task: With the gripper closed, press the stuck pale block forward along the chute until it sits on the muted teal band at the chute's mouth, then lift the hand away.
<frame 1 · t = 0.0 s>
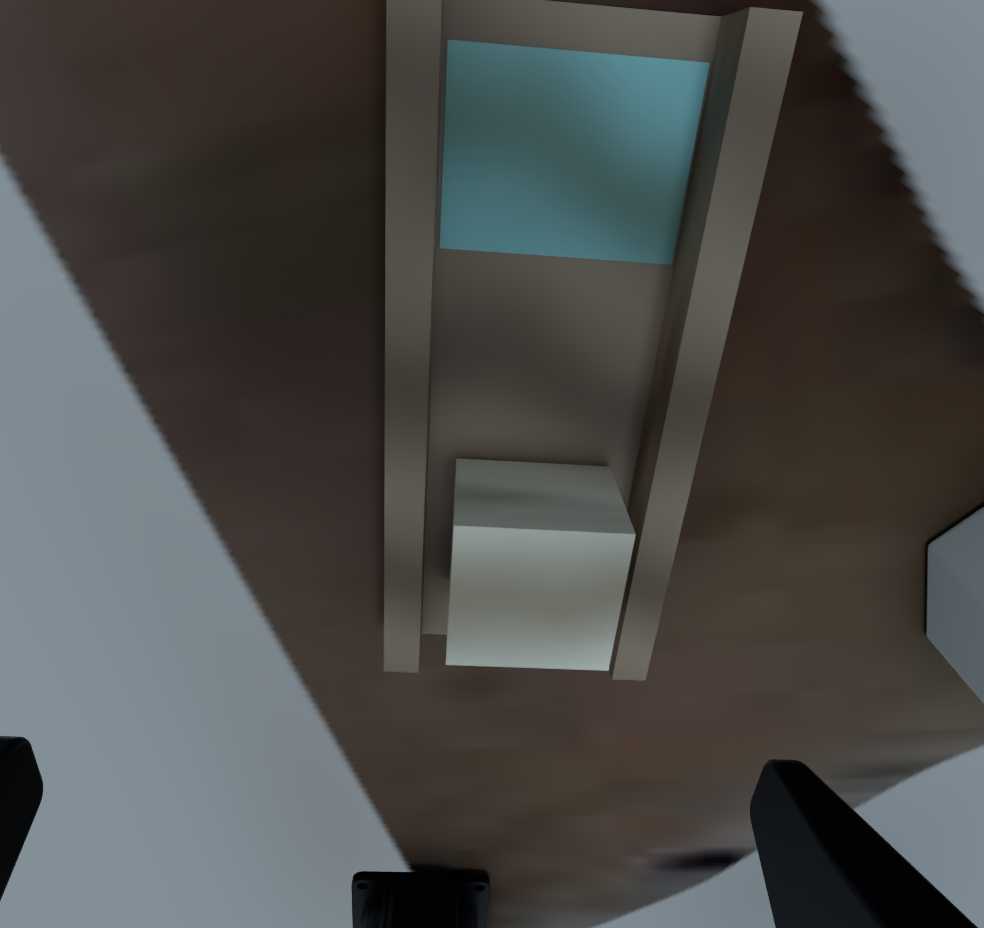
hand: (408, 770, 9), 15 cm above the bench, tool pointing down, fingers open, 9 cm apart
chute: (540, 383, 22), on the bench
block: (530, 562, 22), point 3 cm above the bench, slide at 0.0 cm
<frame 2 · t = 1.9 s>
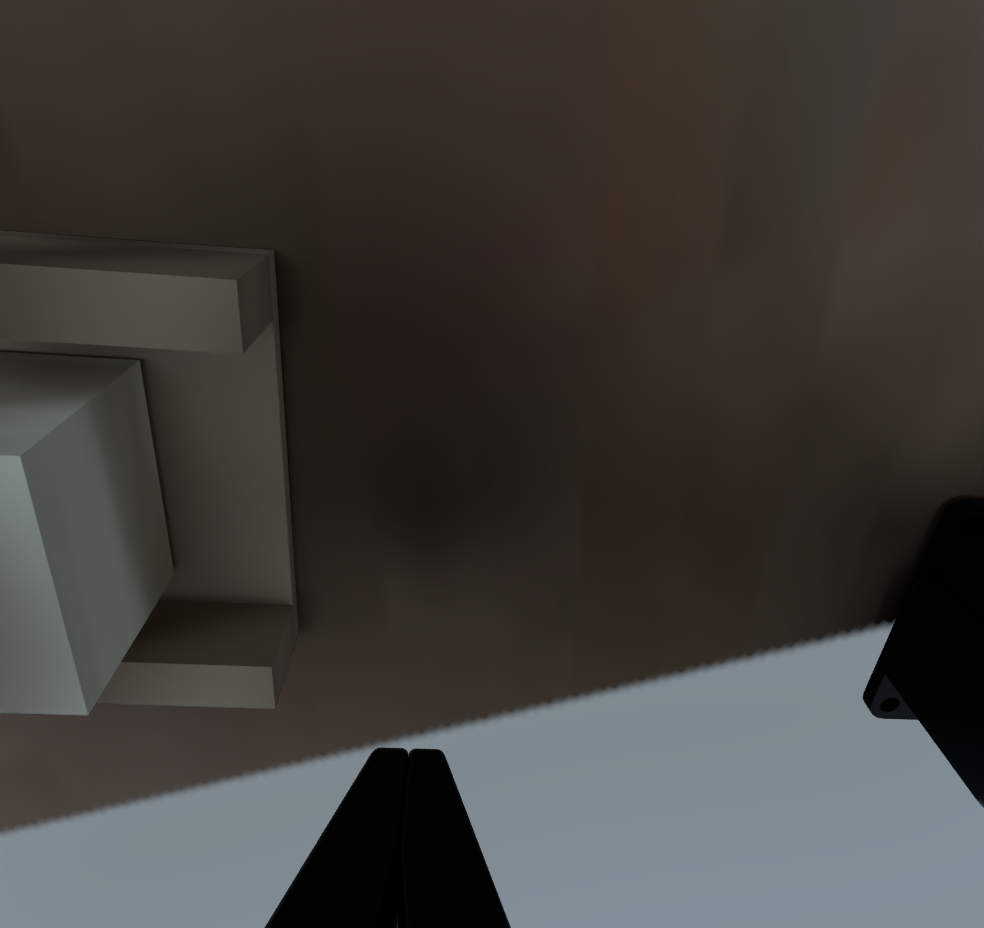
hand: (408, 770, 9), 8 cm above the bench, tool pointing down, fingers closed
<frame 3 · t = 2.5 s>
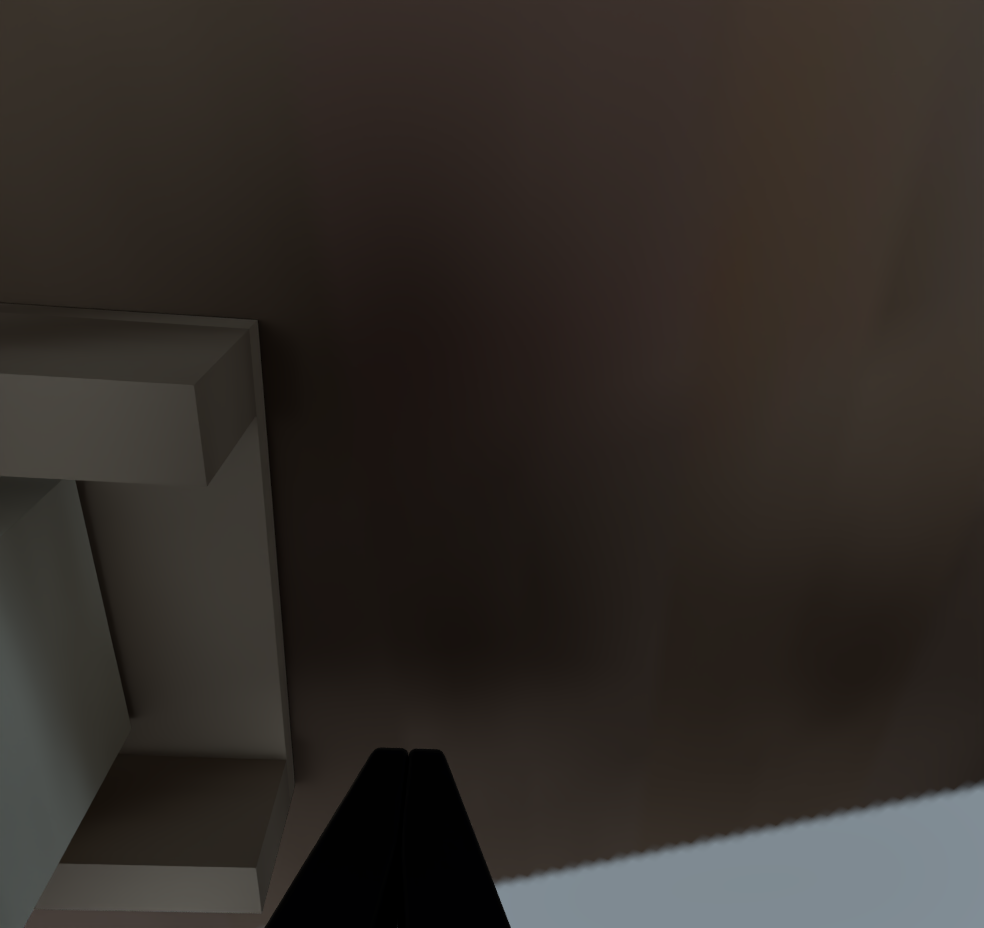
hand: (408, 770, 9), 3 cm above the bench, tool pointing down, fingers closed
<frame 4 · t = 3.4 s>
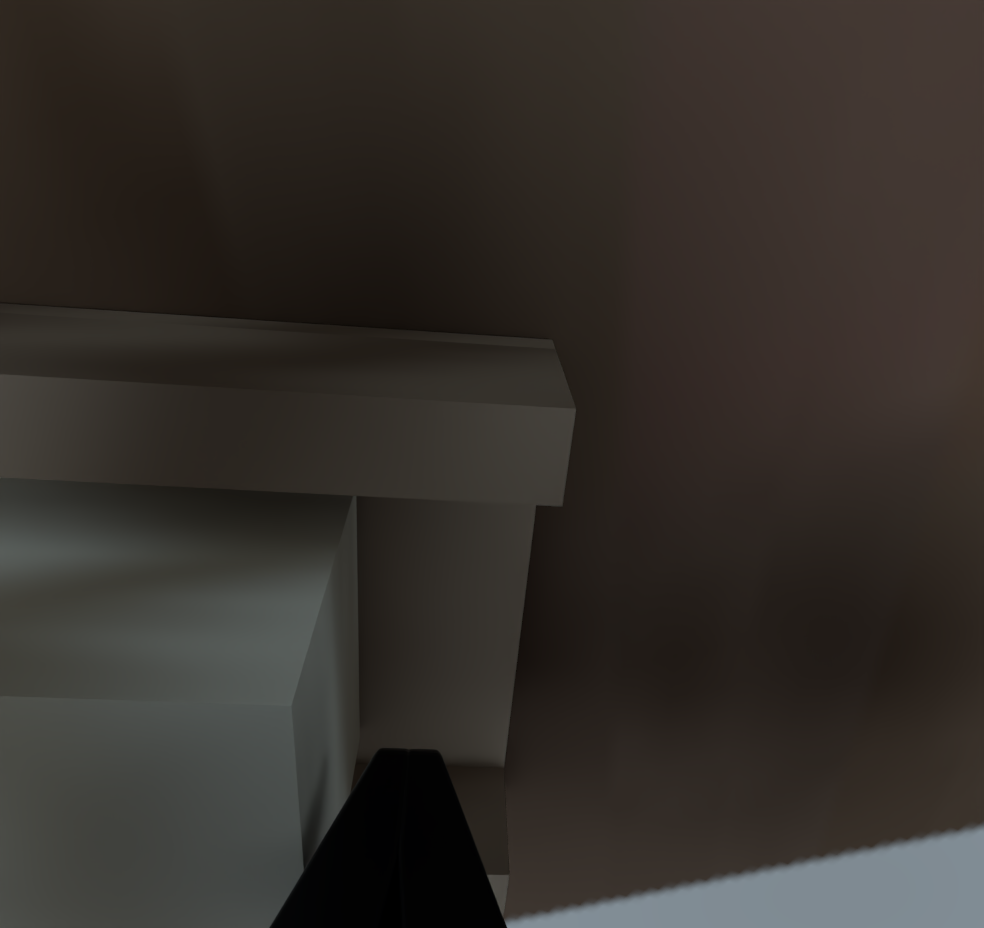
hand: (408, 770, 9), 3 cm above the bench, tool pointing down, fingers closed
block: (140, 720, 9), point 3 cm above the bench, slide at 0.1 cm, touching gripper
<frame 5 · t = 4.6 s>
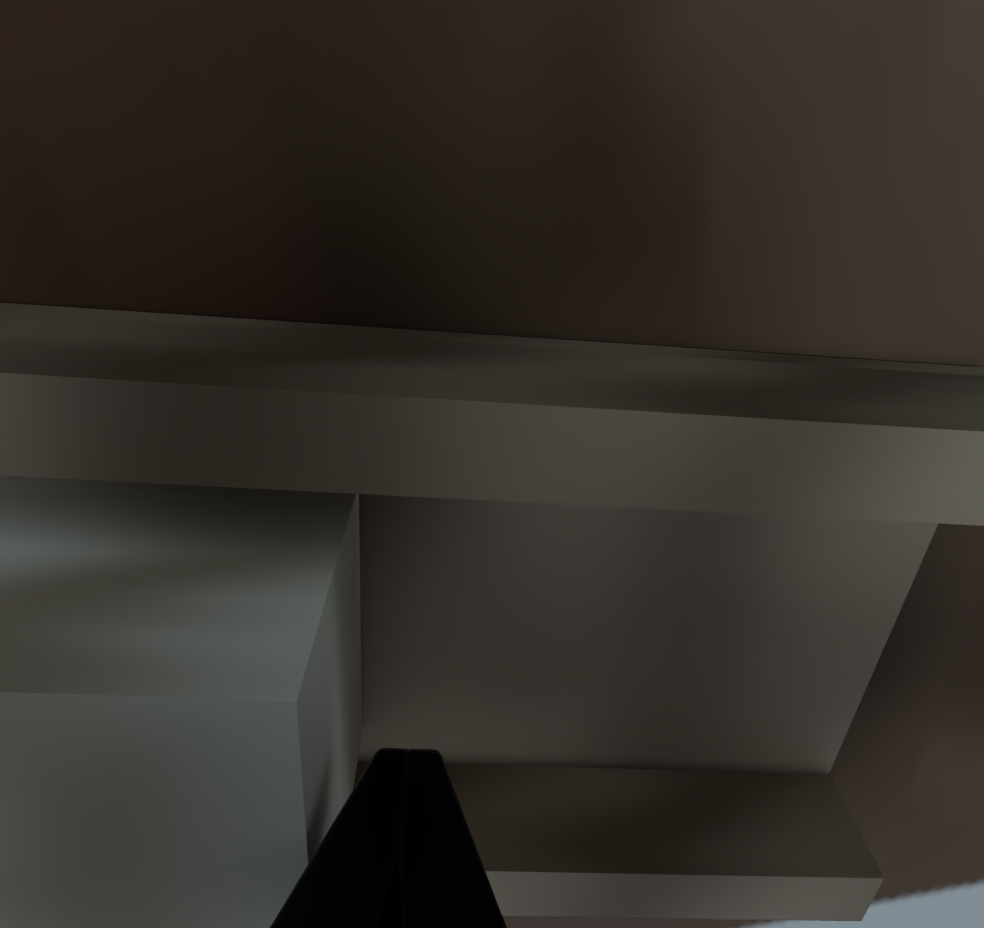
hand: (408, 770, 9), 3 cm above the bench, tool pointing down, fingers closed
chute: (288, 595, 11), on the bench
block: (144, 717, 9), point 3 cm above the bench, slide at 6.3 cm, touching gripper
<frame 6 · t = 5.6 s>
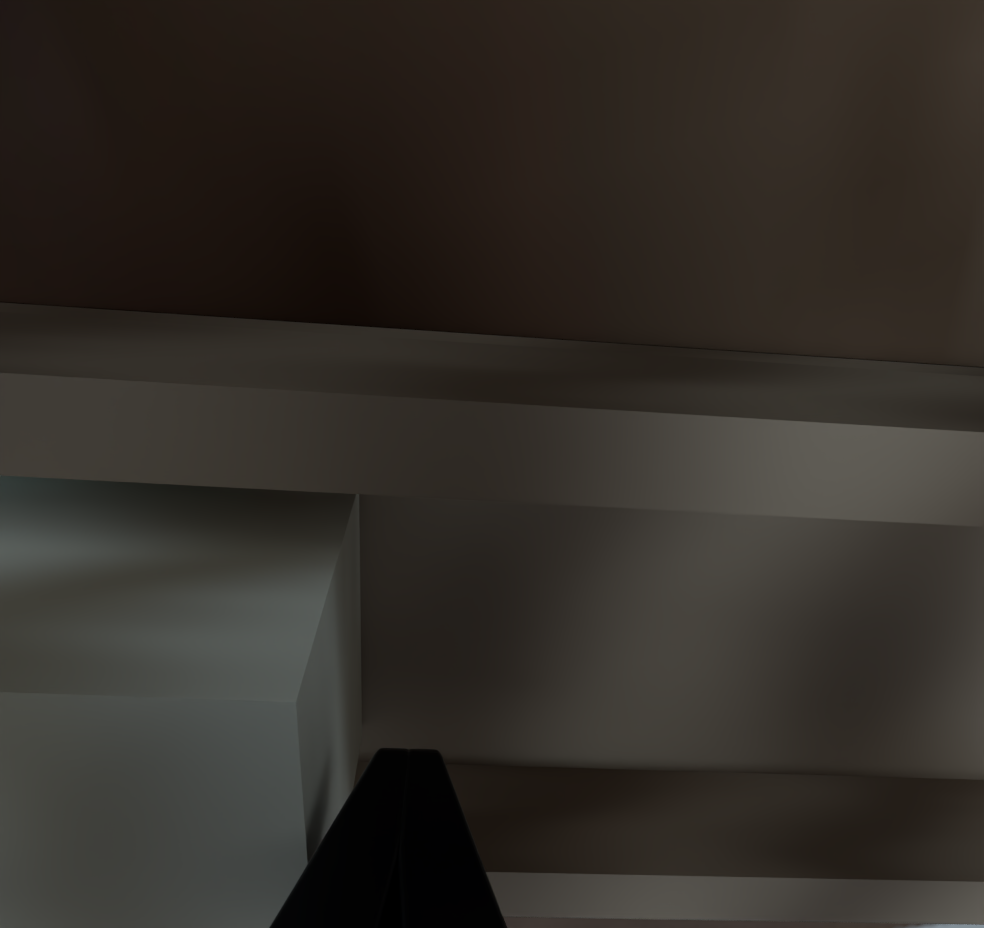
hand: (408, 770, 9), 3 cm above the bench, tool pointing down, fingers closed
chute: (510, 605, 12), on the bench
block: (144, 717, 9), point 3 cm above the bench, slide at 9.9 cm, touching gripper
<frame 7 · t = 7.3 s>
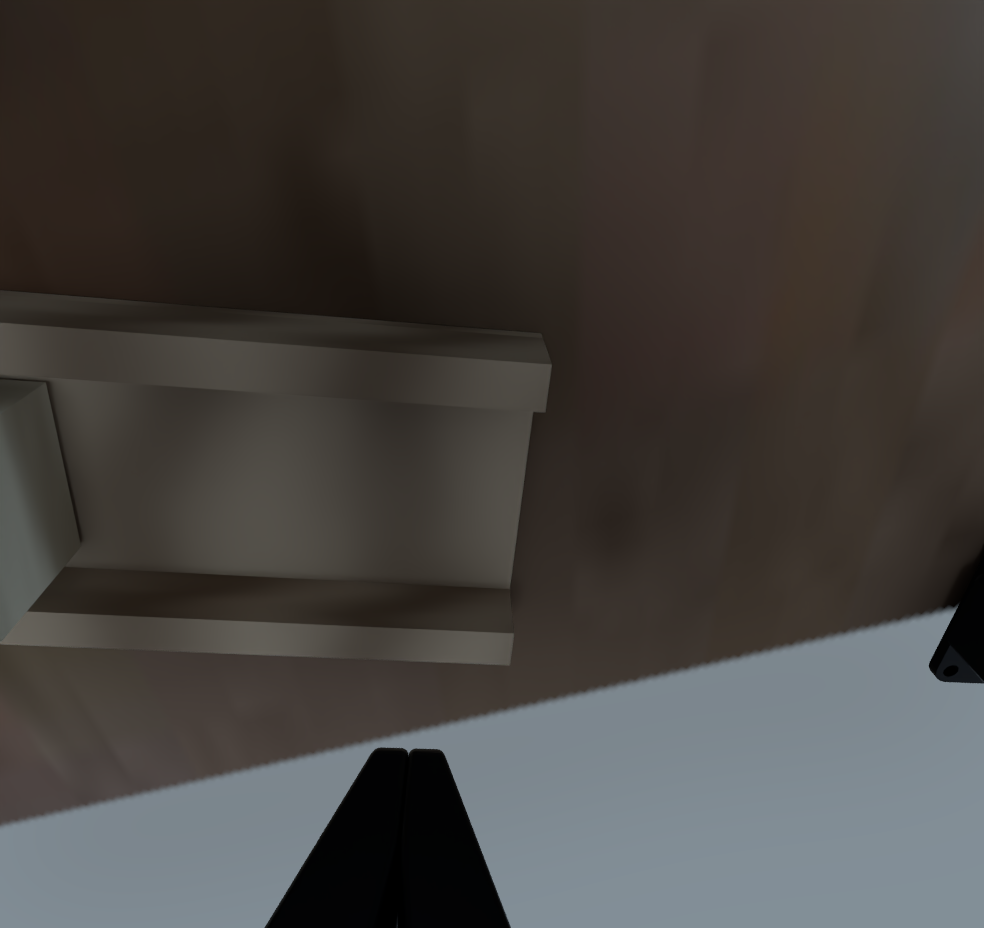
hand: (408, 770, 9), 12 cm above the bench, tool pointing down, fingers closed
chute: (165, 464, 19), on the bench
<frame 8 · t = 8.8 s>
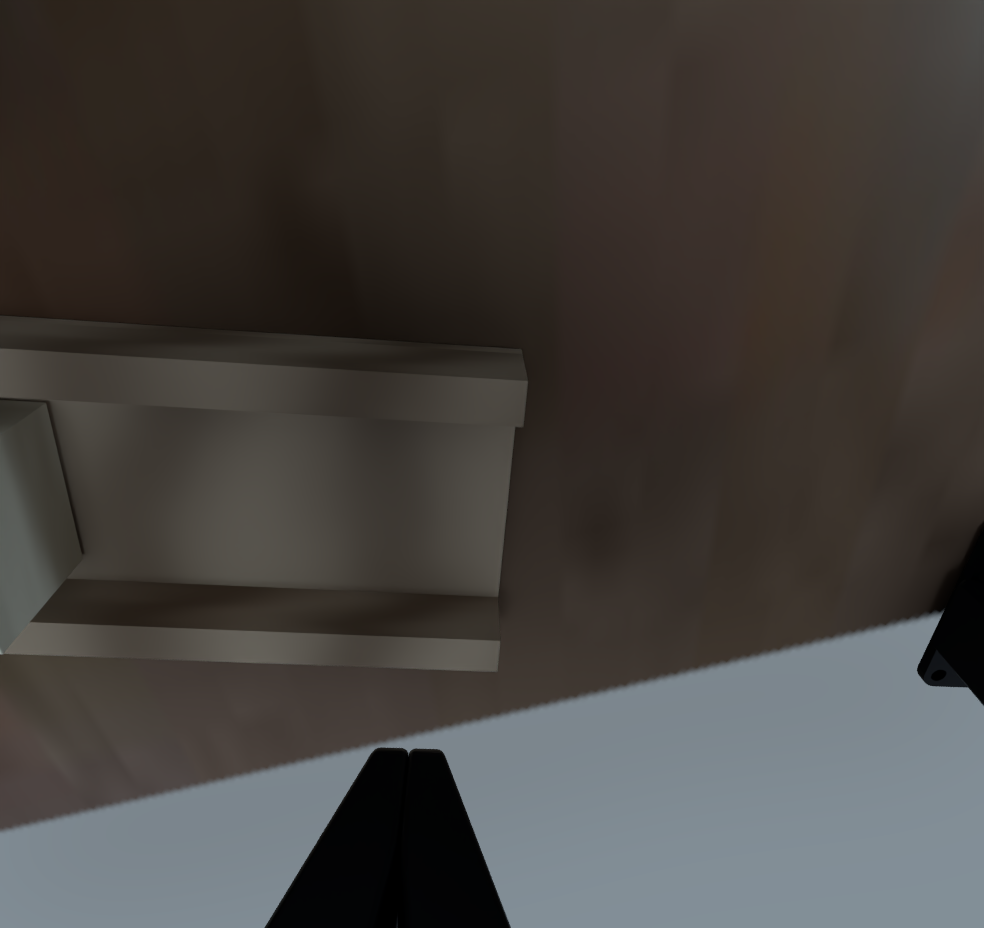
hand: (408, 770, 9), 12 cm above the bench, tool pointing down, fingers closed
chute: (162, 479, 20), on the bench
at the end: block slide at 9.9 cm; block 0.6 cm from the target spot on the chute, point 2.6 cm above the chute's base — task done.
